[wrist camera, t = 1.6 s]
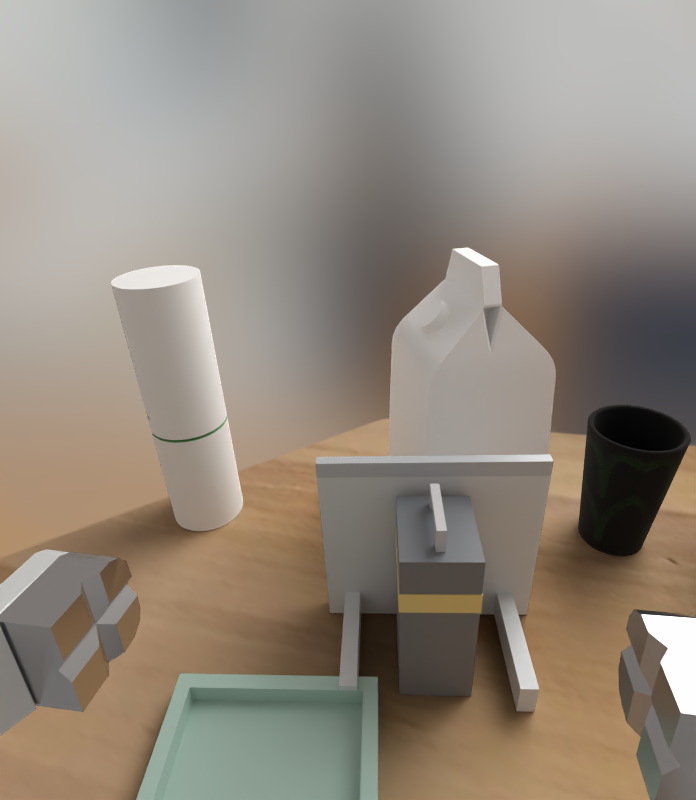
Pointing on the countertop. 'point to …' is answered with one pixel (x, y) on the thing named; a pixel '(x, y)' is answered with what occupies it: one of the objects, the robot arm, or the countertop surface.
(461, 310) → the milk
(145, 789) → the tray
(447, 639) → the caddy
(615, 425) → the cup
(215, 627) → the countertop surface
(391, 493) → the dock
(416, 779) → the countertop surface
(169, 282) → the cylindrical container
